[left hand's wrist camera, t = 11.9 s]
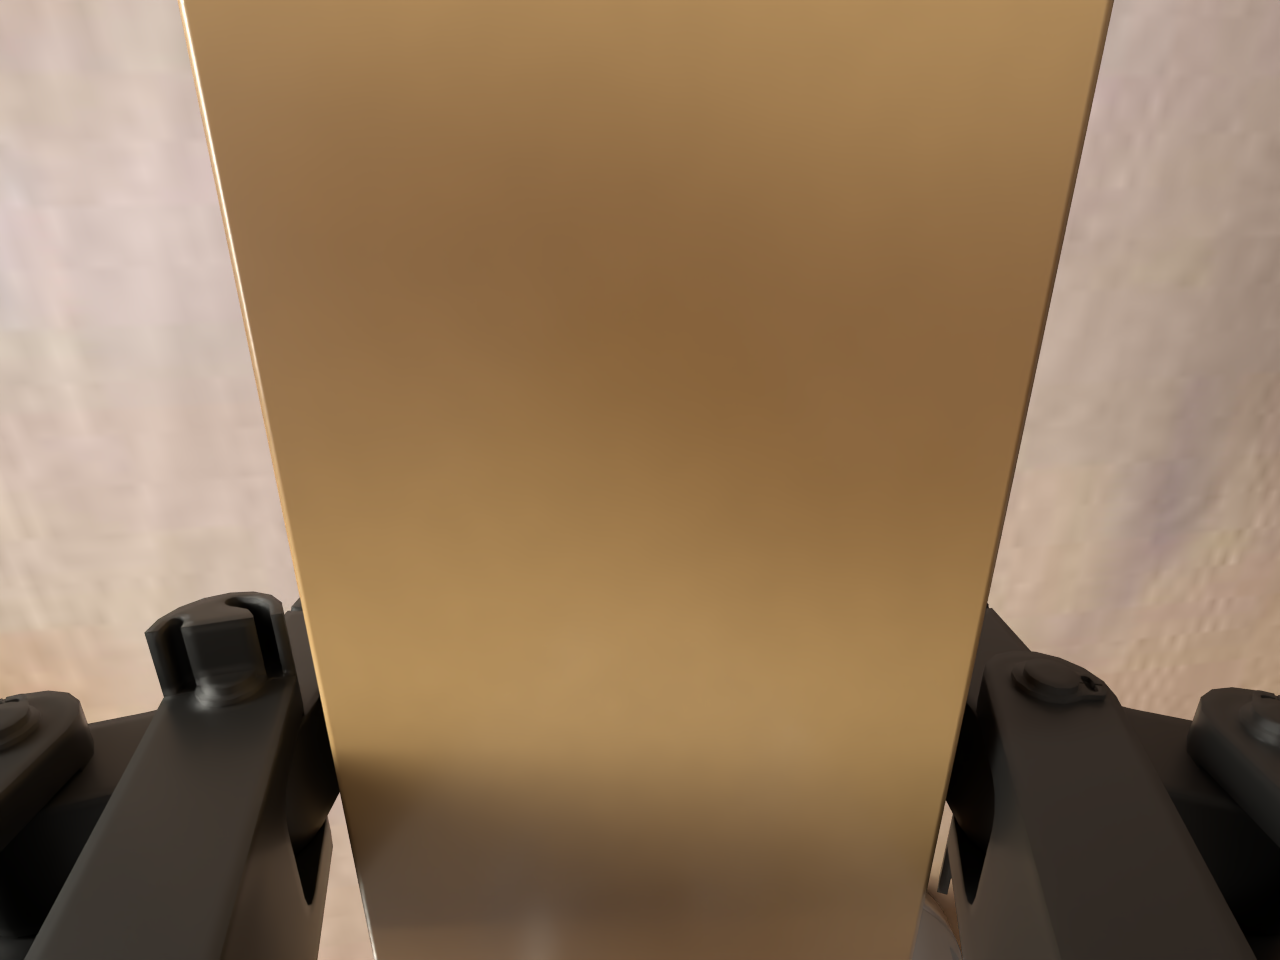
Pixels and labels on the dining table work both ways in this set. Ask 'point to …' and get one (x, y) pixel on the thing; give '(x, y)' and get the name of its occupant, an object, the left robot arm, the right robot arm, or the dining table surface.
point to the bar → (644, 436)
